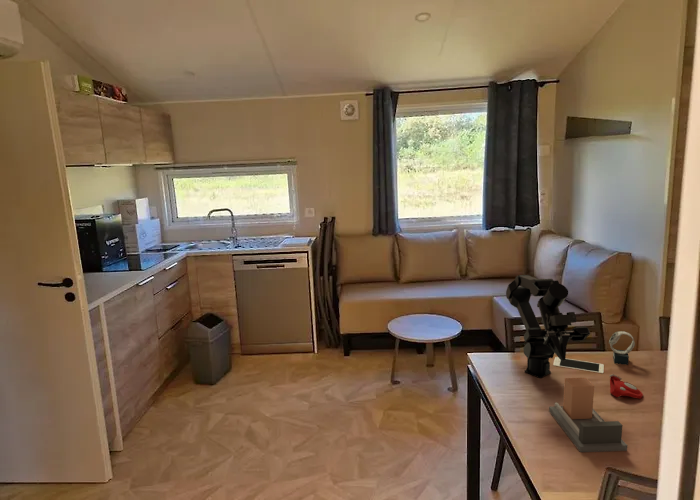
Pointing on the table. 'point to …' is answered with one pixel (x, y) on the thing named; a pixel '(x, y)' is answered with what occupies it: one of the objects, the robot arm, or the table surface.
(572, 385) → the brown block
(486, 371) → the table surface
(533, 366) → the robot arm
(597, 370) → the cell phone
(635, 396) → the red tape dispenser
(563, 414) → the guide track
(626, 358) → the watch
